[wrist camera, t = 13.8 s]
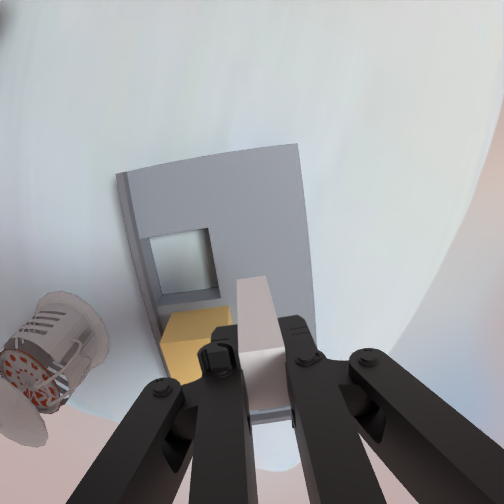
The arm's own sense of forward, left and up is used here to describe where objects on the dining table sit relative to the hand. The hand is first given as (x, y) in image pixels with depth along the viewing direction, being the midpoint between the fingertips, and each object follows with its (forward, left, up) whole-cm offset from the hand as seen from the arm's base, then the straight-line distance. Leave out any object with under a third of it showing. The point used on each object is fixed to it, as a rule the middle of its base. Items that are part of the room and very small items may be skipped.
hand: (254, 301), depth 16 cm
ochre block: (-5, -7, -9) cm, 12 cm away
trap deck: (-2, -5, -12) cm, 13 cm away
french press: (-20, -6, -12) cm, 24 cm away
